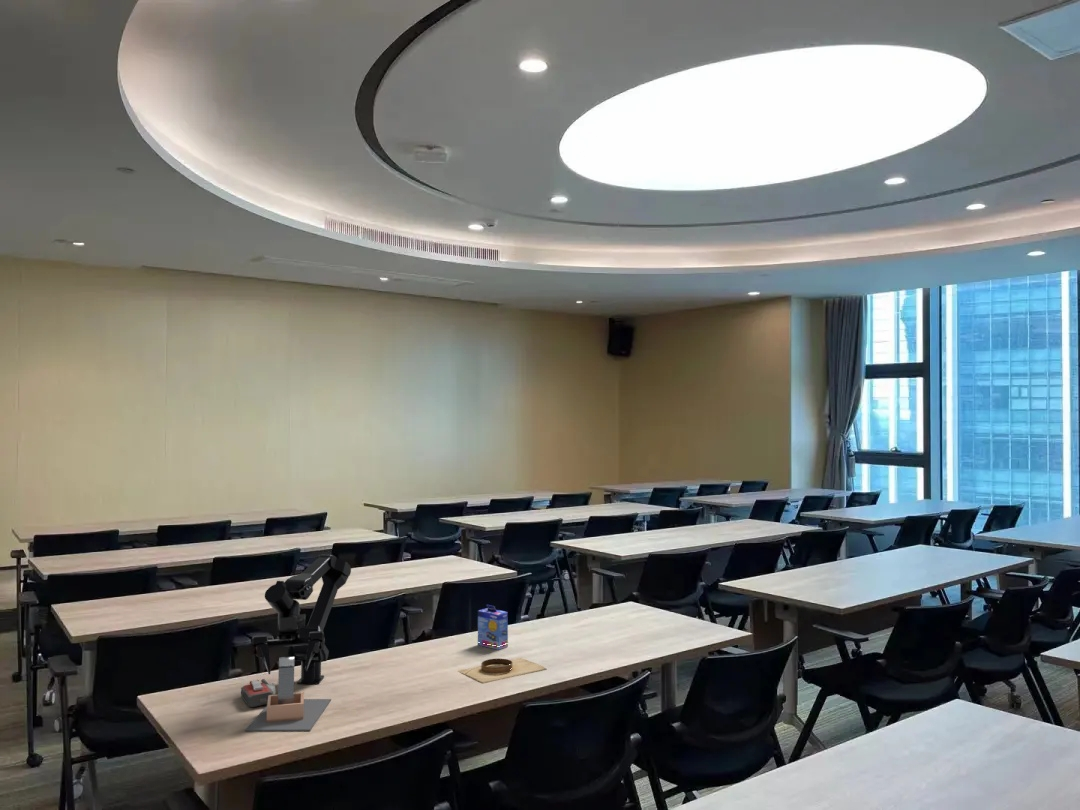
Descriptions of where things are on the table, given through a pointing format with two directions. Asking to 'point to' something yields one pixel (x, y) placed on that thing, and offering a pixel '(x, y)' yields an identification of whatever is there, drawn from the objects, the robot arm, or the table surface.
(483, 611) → the ink cartridge box
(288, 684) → the grey block
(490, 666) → the board
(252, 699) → the grey red device
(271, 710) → the open box
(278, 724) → the mat
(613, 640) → the table surface
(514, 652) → the table surface
